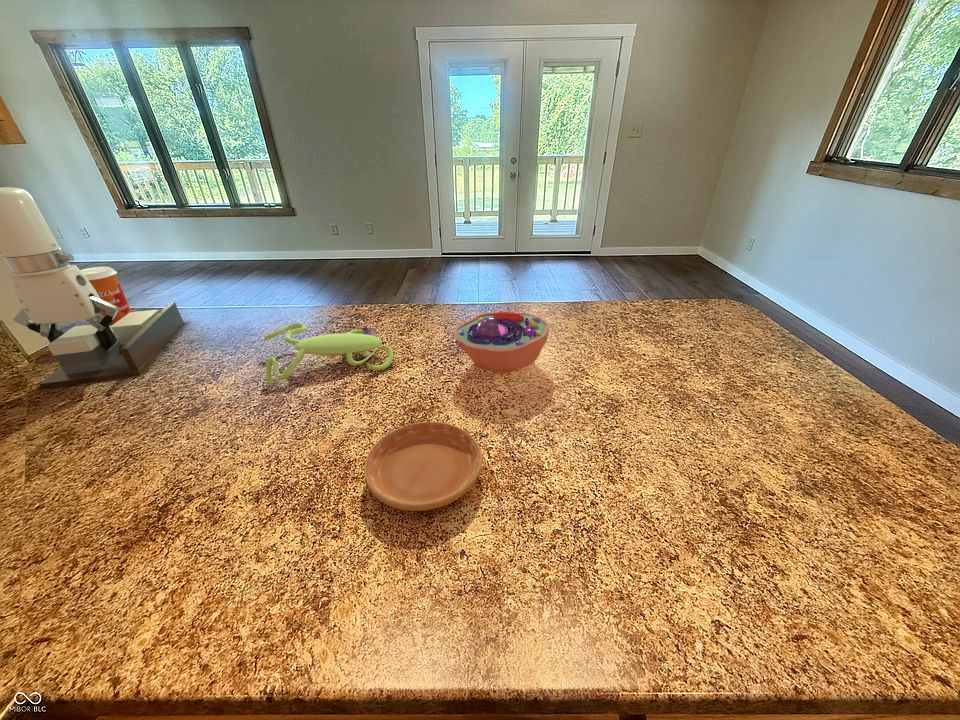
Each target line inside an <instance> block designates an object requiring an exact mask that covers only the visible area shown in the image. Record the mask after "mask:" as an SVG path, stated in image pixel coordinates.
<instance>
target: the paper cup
mask: <svg viewBox="0 0 960 720" xmlns="http://www.w3.org/2000/svg"><path fill="white" fill-rule="evenodd" d="M79 270H80V271H81V272H82V273H83V274H84V275H85V277H86V278H87V279H88V280H89V282H90V283H91V285H92V286H93V287H94V289H95V290H96V292H97V294H98V295H99V297H100V298H101V300H103V301H106V302H108V303H110V304H113V305H115V306H117V307H118V308H119V310H118V312H117V314H116V315H115V318H114V320H113V321H112V323H111V325H110V326H112V325H113V324H115V323H116V322H117V321H119V320H120V319H122V318H123V317H124V316H126V315H127V314H128V313H130V312H132V309H131V308H130V306H129V302H128V301H127V298H126V295H125V293H124V291H123V289H122V286H121V283H120V281H119V279H118V276H117V274H118V271H116V270H115V269H114V268H112V267H111V266H93V267H89V268H88V267H87V268H84V269H79ZM99 313H100V314H101V315H102V316H104V317H105V315H106V311H105V310H104V311H102V312H99Z"/></svg>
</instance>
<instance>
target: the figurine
mask: <svg viewBox="0 0 960 720" xmlns="http://www.w3.org/2000/svg"><path fill="white" fill-rule="evenodd" d="M375 329H376V328H375V327H362V328H355V329H353V330H350V331H347V332H345V333H329V334H324V335H317V336H312V337H309V338H304V339H303V340H299V339H296V338H292V337H293V336H296V335H298V334H302V333H306V332H307V331H308V327H307V325H305V324H302V323H290V324H287V325H284V326H282V327H281V328H279V329H277V330H275V331H272V332H270V333H267V334H265V335H264V337H263V339H264V341H265V342H266V341H269V340H271V339H273V338H276V337H278V336H279V335H281V334H283V333H285V335H284V338H283V339H284V342H285V343H287V344H291V345H294V348H295V350H296V351H298V352H297V353H296V355H295V356H294V359H293V360H292V361H291V362H290V363H289V365H288V366H287V368H286V369H285V371H284V372H283V373H281V372H280V371H279V366H278V362H277V359H276V357H274V356H272V357H268V358H267V360H266V363H265V375H266V381H267V385H268V386H269V387H271V386H273V385H274V384H273V378H272V366H273V373H274V376H275V378H276V379H277V380H278V381H284V380H287V379H288V378H289V377H290V376H291V374H293V372H294V370H295V369H296V368H297V367H298V366H299V364H300V363H301V361H302V359H303V358H304V356H305V355H313V356H314V355H315V356H328V358H329V359H333V358H335V357H337V356H343V355H345V357H346V361H347V363H348V364H349V365H351V366H352V367H355V366H360V365H361V364H363V363H365V362H367V361H368V360H369V359H370V358H371V357H372V356H373V355H374V353H375V352H377V351H378V350H380V349H381V350H384V351H386V353H387V358H386V359H385V361H384V362H383V363H382V364H379V365H372V364H371V363H369V362H367V364H366V365H367V366H368V368H369V369H370V370H372V371H384V370H385V369H387V368H389V367H390V366H391V364H392V363H393V360H394V351H393V349H392V348H391V347H390V346H389V345H387V344H382V343H383V340H382V339H381V338H380V337H378V336H376V330H375ZM287 331H288V332H287ZM373 349H374V351H372V352H371V353H370V351H371V350H373ZM359 353H360V354H361V355H362V356H363V357H364V358H363V359H362V360H359V361H357V360H355V359H354V358H353V355H354V356H357V354H359Z"/></svg>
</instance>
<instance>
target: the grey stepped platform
mask: <svg viewBox="0 0 960 720" xmlns="http://www.w3.org/2000/svg"><path fill="white" fill-rule="evenodd" d="M159 311H160V312H159V313H158V314H157V315H156V316H155V317H154V318H153V319H152V320H151V321H150V322H148V323H147V324H146V325H145V326H144V327H143V328H142V329H141V330H140V331H139V332H138V333H137V334H136V335H135V336H134V337H132V338H131V339H130V340H129V341H128V342H127V343H126V344H124V345H121V346H122V348H121V349H120V351H121V353H120V354H119V355H118V356H117V357H116V358H115V359H114V360H113V361H111V362H110V363H109V364H108V365H107V366H106V367H105V368H104V369H103V370H99V371H91V372H84V373H76V374H69V375H66V374H65V372H64V371H63V369H62V368H61V366H60V367H58V368H57V369H56V370H55V371H54V372H52V373H51V374H50V375H48V376H47V377H46V378H44V380H42V381H41V382H40V383H39V384H38V385H39V387H40V388H41V389H48V388H55V387H63V386H70V385H76V384H84V383H91V382H97V381H104V380H111V379H118V378H120V379H121V378H125V377H132V376H141V375H142V374H143V373H144V372H145V370H146V369H147V368H148V366H150V364H151V363H152V362H153V361H154V360H155V358H156V357H157V356H158V355H159V354H160V353H161V352H162V351H163V349H165V347H166V346H167V345H168V343H169V342H170V341H171V340H172V339H173V338H174V337H175V336H176V334H177V333H178V332H179V331H180V330H181V328H182V327H183V326H184V325H185V322H184V321H183V318H182V315H181V313H180V311H179V309H178V306H177V304H176V302H174V301H173V302H168V304H166V305H165V306H164V307H163V308H162V309H161V310H159Z"/></svg>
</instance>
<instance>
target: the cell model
mask: <svg viewBox="0 0 960 720" xmlns="http://www.w3.org/2000/svg"><path fill="white" fill-rule="evenodd" d="M549 331H550V324H549V322H547V321H546V320H545V319H543V317H540V316H538V315H534V314H530V313H522V312H521V313H519V312H514V311H505V310H504V311H489V312H483V313H479V314H477V315H475V316H474V317H472V318H470V319H469V320H467V321H464V322H462V323H460V324H459V325H458V326H457V327H456V328H455V329H454V331H453V337H454V339H455V340H456V342H457V343H458V345H459V346H460V348H462V350H463V351H464V353H465V354H466V355H467V356H468V358H469V359H470V360H471V361H472V362H473V364H474V366H475V367H476V368H477V369H479V370H484V371H491V372H496V373H503V374H504V373H505V374H509V373H514V372H517V371H519V370H521V369H523V368H526V367H528V366H530V365H532V364H533V363H534V362H536V361H537V360H538V358H539V356H540V355H541V352H542V350H543V348H544V346H545V345H546V343H547V341H548V338H549Z"/></svg>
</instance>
